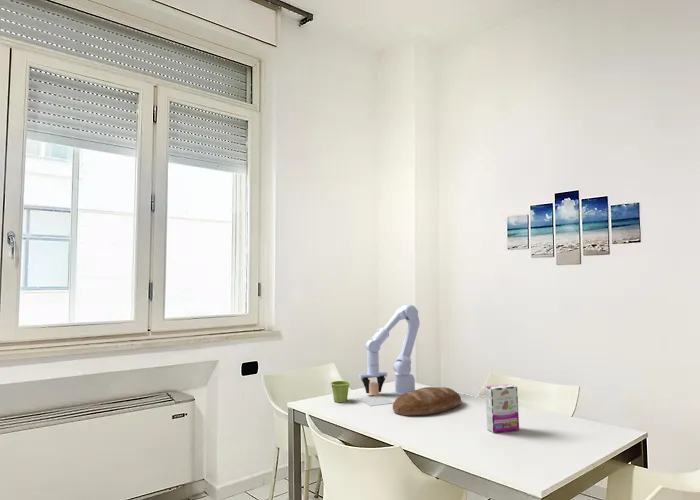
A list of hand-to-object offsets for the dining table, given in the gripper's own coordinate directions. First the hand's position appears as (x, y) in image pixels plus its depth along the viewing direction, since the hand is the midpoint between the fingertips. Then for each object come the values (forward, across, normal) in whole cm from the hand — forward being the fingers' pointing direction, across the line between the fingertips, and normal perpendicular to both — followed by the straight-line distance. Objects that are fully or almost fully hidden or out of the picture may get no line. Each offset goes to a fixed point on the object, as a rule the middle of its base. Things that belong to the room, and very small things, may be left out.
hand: (373, 392), depth 251 cm
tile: (+1, 0, 0) cm, 1 cm away
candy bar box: (+2, -20, +72) cm, 75 cm away
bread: (+2, -12, +31) cm, 33 cm away
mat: (+1, +4, +11) cm, 12 cm away
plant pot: (+2, +19, +4) cm, 19 cm away
